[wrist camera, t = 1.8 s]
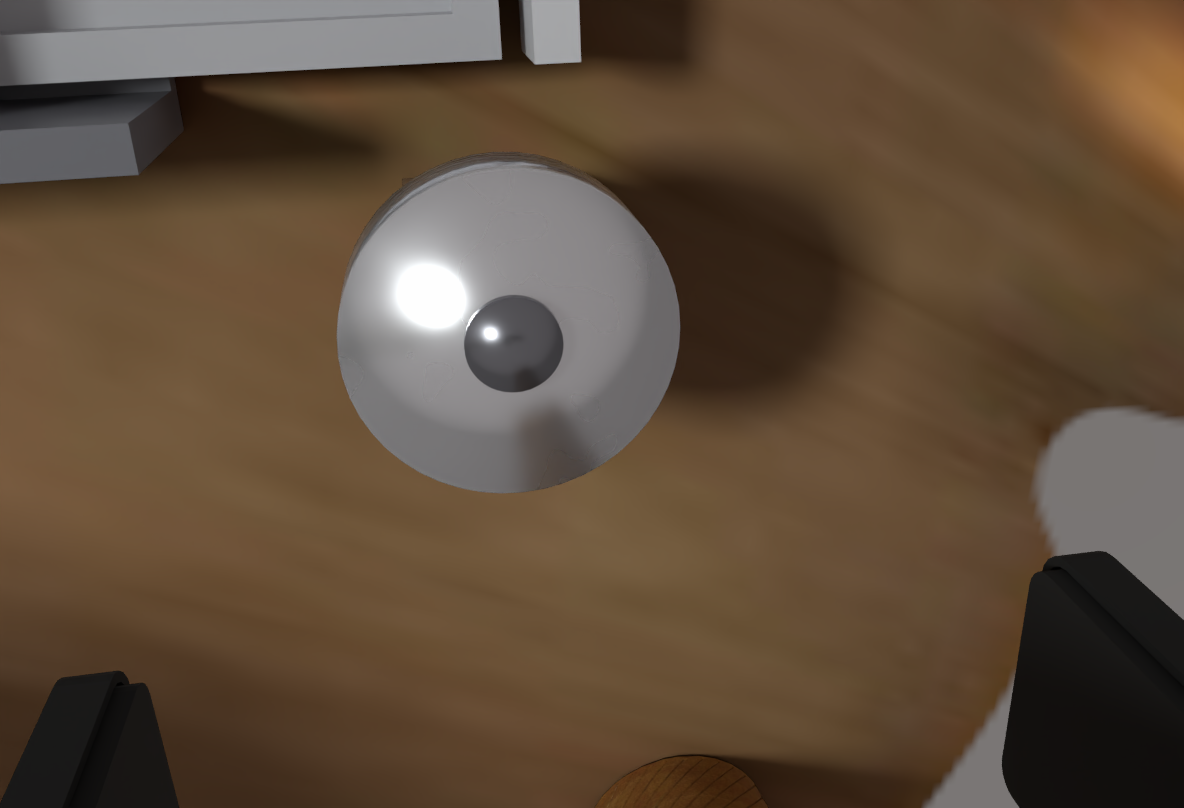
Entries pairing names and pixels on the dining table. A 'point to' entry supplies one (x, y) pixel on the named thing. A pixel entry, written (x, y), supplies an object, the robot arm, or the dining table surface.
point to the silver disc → (506, 323)
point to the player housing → (85, 128)
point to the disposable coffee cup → (684, 786)
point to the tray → (264, 36)
